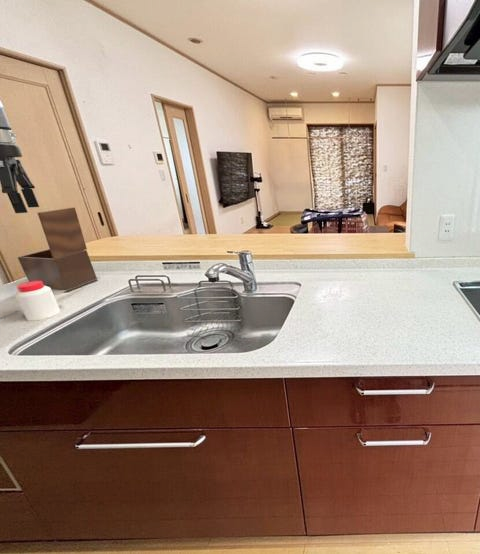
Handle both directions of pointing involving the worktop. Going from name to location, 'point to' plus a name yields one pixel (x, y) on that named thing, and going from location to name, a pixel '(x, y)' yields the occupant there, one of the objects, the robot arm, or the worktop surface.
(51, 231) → the chest lid
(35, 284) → the pill bottle
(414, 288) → the worktop surface
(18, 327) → the worktop surface
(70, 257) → the chest
